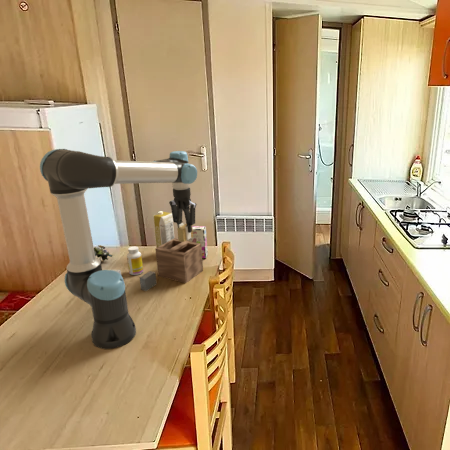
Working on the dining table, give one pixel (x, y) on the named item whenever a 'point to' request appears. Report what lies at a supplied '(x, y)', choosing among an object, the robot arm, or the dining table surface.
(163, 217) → the juice carton
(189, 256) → the wooden compartment box
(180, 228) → the block
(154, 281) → the grey rectangular block
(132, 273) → the supplement bottle
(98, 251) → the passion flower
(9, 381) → the dining table surface
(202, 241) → the candy bar box
